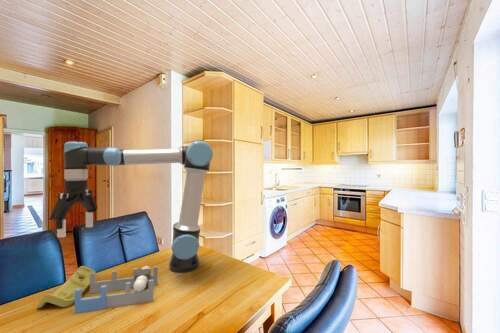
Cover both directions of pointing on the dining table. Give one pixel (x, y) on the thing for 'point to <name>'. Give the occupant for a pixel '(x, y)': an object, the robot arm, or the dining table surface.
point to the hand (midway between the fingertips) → (76, 231)
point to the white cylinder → (142, 278)
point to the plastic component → (69, 288)
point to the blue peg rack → (114, 299)
